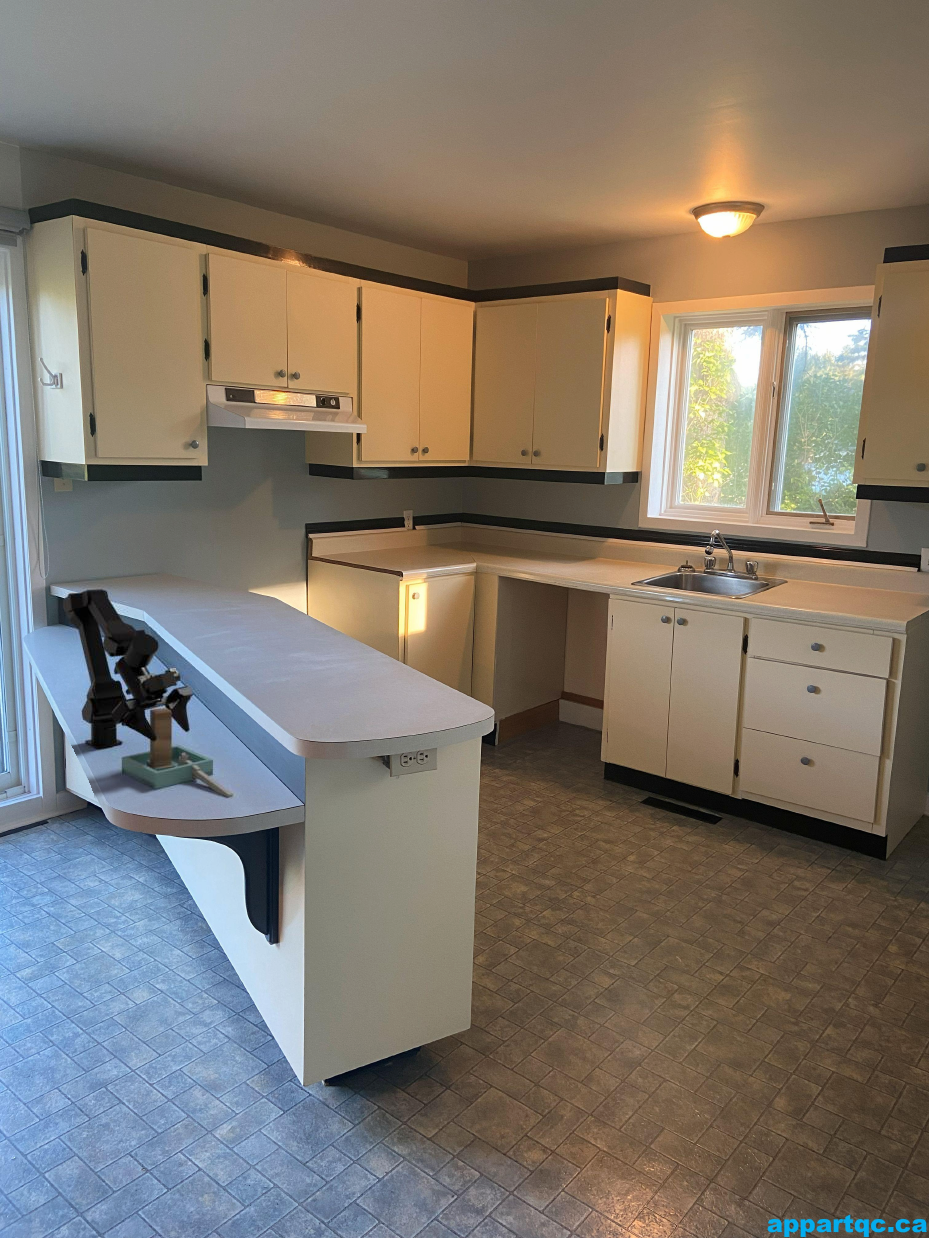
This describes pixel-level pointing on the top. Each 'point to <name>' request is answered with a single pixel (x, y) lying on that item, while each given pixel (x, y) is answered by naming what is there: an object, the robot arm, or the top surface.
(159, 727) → the tall tan wooden block
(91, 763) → the top surface
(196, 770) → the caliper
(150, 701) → the robot arm
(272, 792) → the top surface
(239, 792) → the top surface
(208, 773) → the tray
